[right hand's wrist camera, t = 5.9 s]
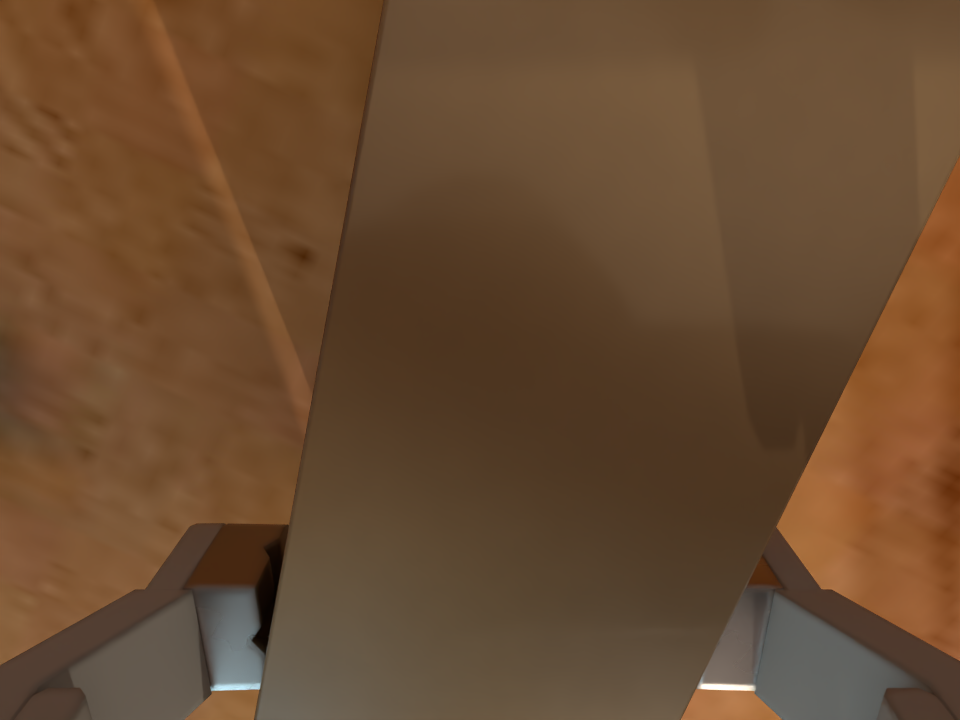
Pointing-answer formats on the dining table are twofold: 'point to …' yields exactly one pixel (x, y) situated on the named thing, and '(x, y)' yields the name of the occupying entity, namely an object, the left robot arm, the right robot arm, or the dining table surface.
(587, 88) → the cabinet
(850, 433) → the dining table surface
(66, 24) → the dining table surface
